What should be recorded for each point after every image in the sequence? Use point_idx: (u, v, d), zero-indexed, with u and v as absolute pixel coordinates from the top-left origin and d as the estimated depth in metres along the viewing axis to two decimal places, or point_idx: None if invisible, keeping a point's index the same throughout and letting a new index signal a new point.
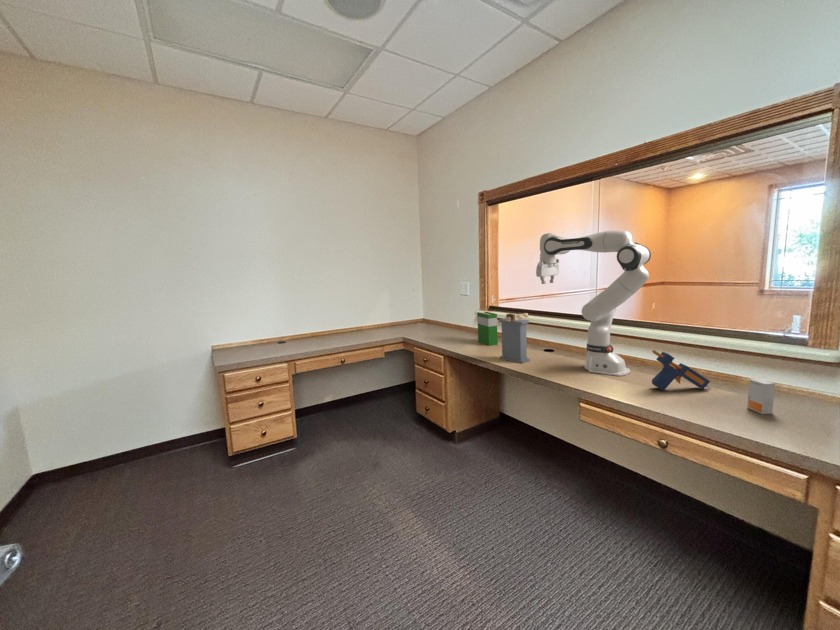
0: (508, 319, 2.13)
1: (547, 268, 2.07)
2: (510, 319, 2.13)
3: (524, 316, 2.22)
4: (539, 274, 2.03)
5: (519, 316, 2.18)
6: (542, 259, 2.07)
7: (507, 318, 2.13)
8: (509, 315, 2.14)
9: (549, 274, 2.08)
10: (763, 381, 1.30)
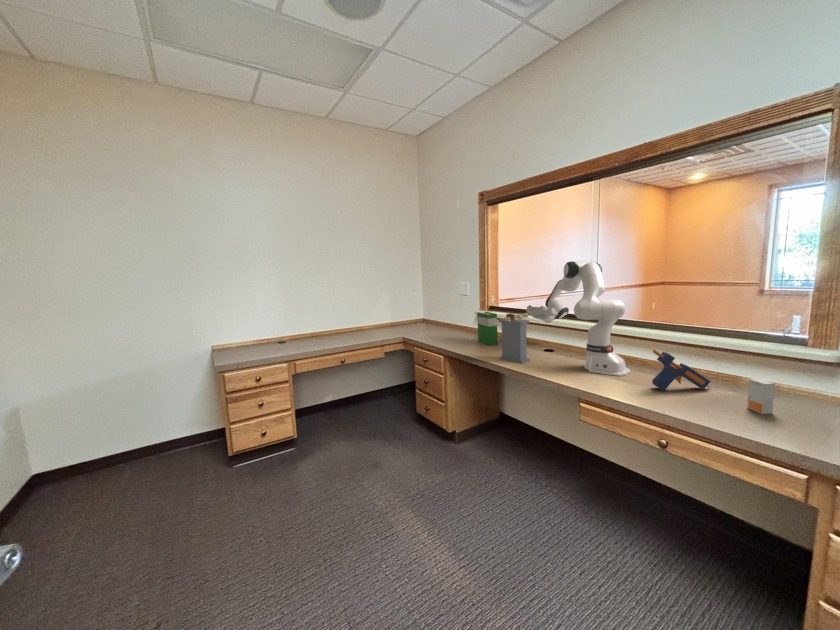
0: (508, 319, 2.13)
1: (544, 314, 2.35)
2: (510, 319, 2.13)
3: (524, 316, 2.22)
4: (553, 311, 2.28)
5: (519, 316, 2.18)
6: None
7: (507, 318, 2.13)
8: (509, 315, 2.14)
9: (539, 312, 2.34)
10: (763, 381, 1.30)
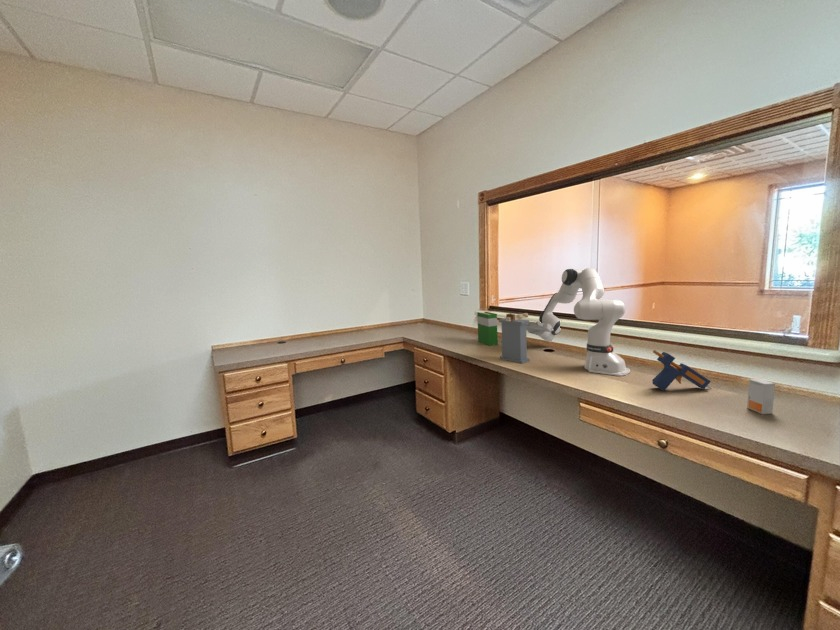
0: (508, 319, 2.13)
1: (540, 329, 2.33)
2: (510, 319, 2.13)
3: (524, 316, 2.22)
4: (548, 327, 2.25)
5: (519, 316, 2.18)
6: None
7: (507, 318, 2.13)
8: (509, 315, 2.14)
9: (535, 327, 2.32)
10: (763, 381, 1.30)
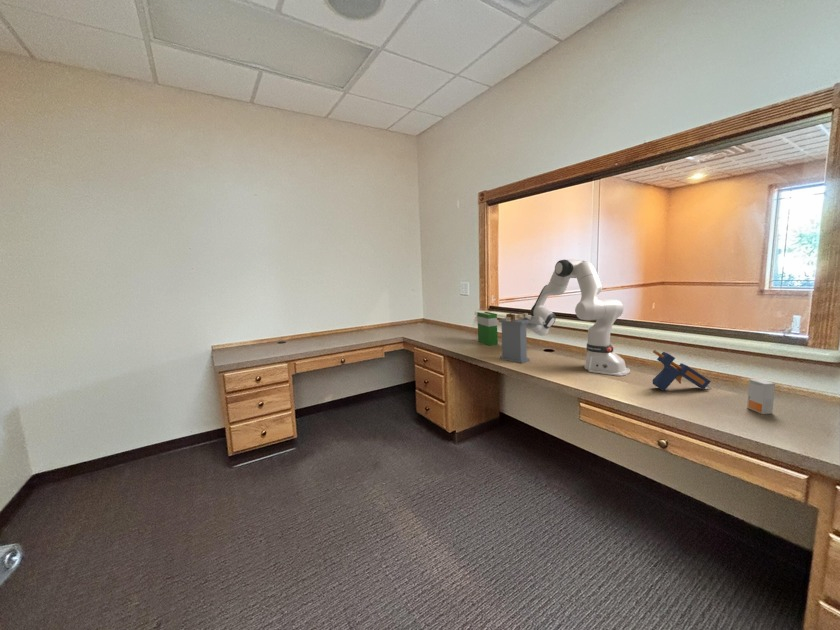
0: (508, 319, 2.13)
1: (532, 323, 2.26)
2: (510, 319, 2.13)
3: None
4: (540, 320, 2.18)
5: (519, 316, 2.18)
6: None
7: (507, 318, 2.13)
8: (509, 315, 2.14)
9: None
10: (763, 381, 1.30)
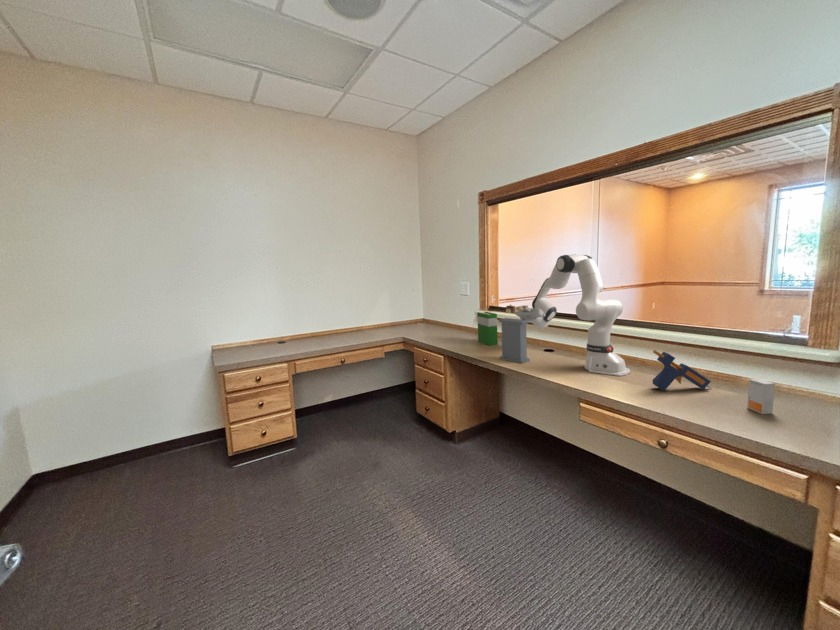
0: (508, 311, 2.12)
1: (532, 315, 2.25)
2: (510, 311, 2.12)
3: None
4: (540, 312, 2.18)
5: (519, 308, 2.18)
6: None
7: (507, 310, 2.12)
8: (509, 307, 2.13)
9: (526, 313, 2.24)
10: (763, 381, 1.30)
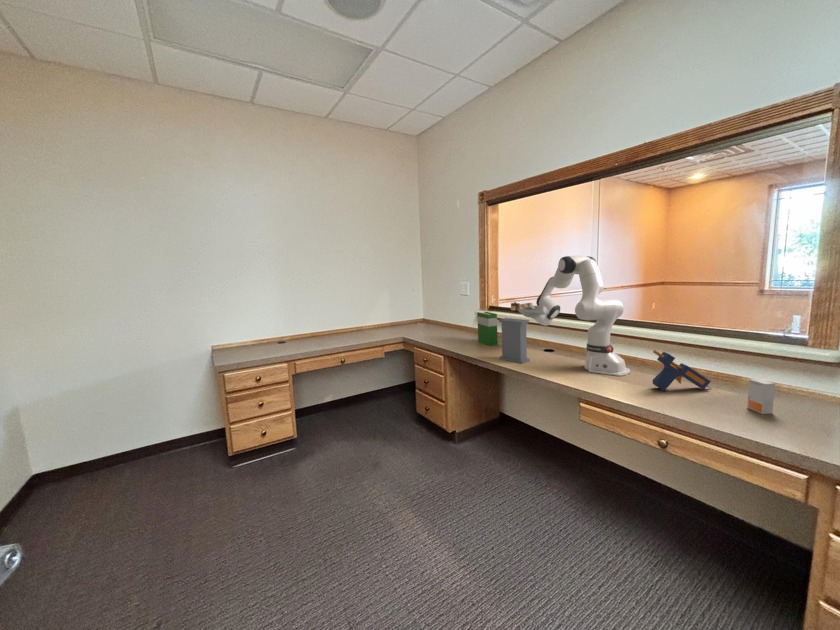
0: (513, 308, 2.16)
1: (536, 312, 2.29)
2: (515, 308, 2.16)
3: None
4: (544, 310, 2.21)
5: (523, 305, 2.22)
6: None
7: (512, 307, 2.16)
8: (514, 304, 2.17)
9: (530, 310, 2.28)
10: (763, 381, 1.30)
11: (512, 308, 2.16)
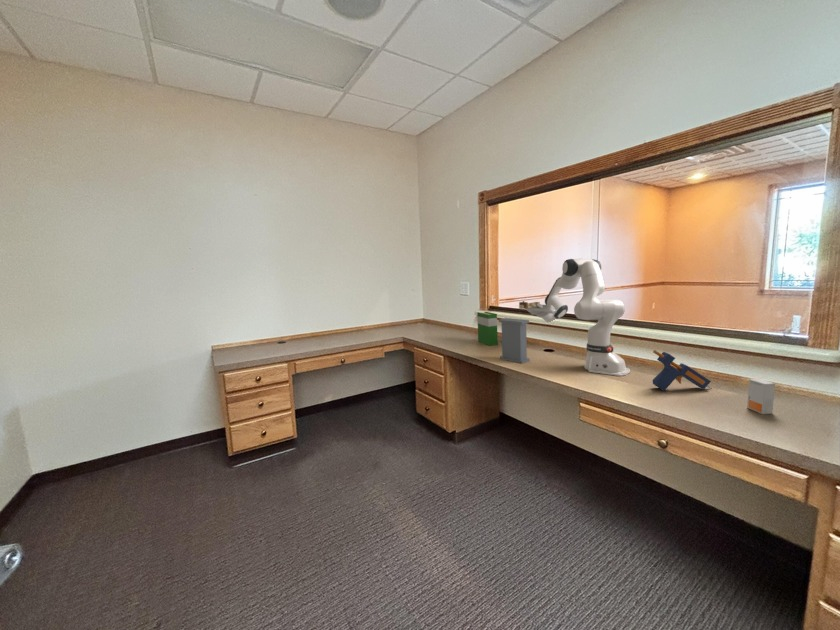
0: (521, 307, 2.20)
1: (543, 311, 2.34)
2: (523, 307, 2.21)
3: None
4: (551, 309, 2.26)
5: (531, 304, 2.26)
6: None
7: (520, 306, 2.21)
8: (522, 303, 2.22)
9: (538, 309, 2.33)
10: (763, 381, 1.30)
11: (520, 307, 2.21)
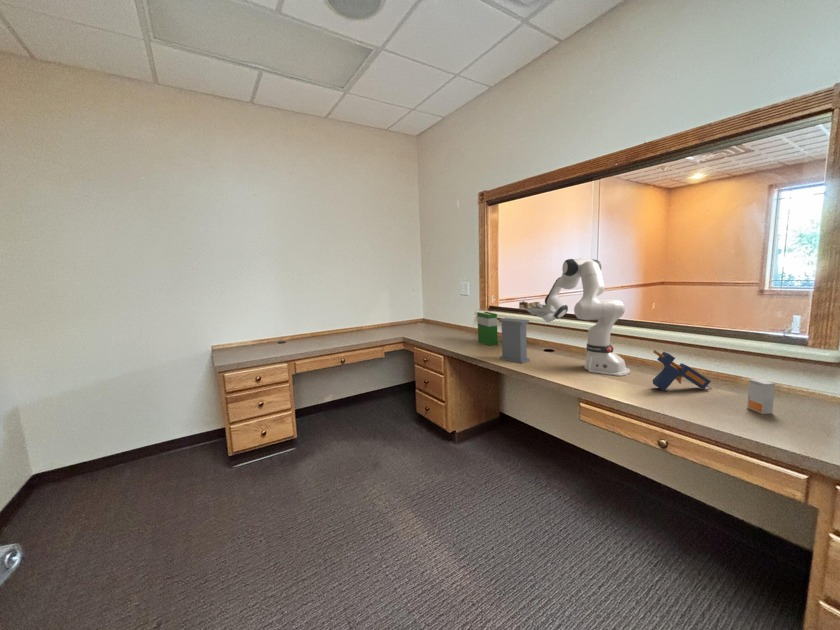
0: (521, 307, 2.20)
1: (543, 311, 2.34)
2: (523, 307, 2.21)
3: None
4: (551, 309, 2.26)
5: (531, 304, 2.26)
6: None
7: (520, 306, 2.21)
8: (522, 303, 2.22)
9: (538, 309, 2.33)
10: (763, 381, 1.30)
11: (520, 307, 2.21)
